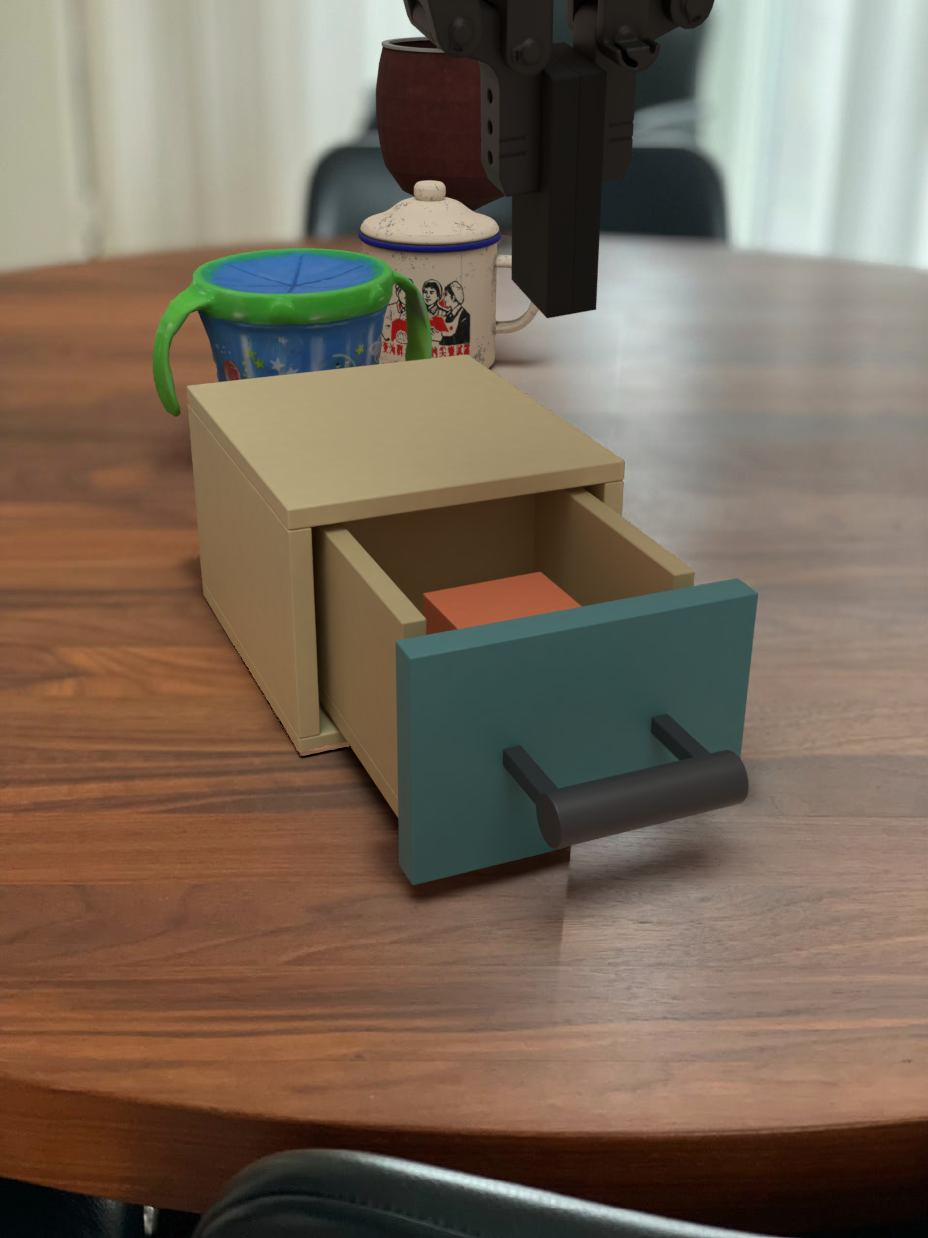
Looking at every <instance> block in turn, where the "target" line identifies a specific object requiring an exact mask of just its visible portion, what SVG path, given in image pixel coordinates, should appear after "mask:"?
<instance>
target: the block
mask: <svg viewBox="0 0 928 1238" xmlns="http://www.w3.org/2000/svg"><path fill="white" fill-rule="evenodd" d="M577 607H582V606H581V605H580V604H578V603H577V602H576V601H575V600H574V599H573V598H571V597H570V596H569V595H568V594H567V593H565V592H564V591H563V590H562V589H561V588H559V587H558V586H557V585H556V584H555V583H553V582H552V581H551V580H550V579H549V578H547V577H546V576H545V575H544V574H543V573H542V572H536V573H530V574H525V575H519V576H514V577H509V578H503V579H498V580H492V581H487V582H482V583H476V584H471V585H465V586H460V587H455V588H449V589H444V590H438V591H433V592H428V593H423V616H424V617H425V618H426V635H429V634H435V633H440V632H445V631H451V630H456V629H462V628H467V627H473V626H478V625H484V624H489V623H495V622H500V621H506V620H511V619H517V618H522V617H527V616H533V615H538V614H544V613H549V612H555V611H560V610H566V609H571V608H577Z"/></svg>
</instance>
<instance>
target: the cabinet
mask: <svg viewBox="0 0 928 1238" xmlns="http://www.w3.org/2000/svg"><path fill="white" fill-rule="evenodd" d="M186 399H187V403H188V404H187V413H188V424H189V425H188V426H189V427H188V428H189V440H190V447H191V448H190V449H191V452H190V453H191V461H192V462H191V463H192V474H193V487H194V496H195V497H194V499H195V500H194V501H195V511H196V512H195V513H196V524H197V538H198V550H199V563H200V572H201V574H200V575H201V580H202V581H201V583H202V585H201V586H202V596H203V597H204V598H205V600H206V602H207V604H208V605H209V607H210V608H211V610H212V612H213V613H214V615H215V617H216V618H217V621H218V622H219V623H220V625H221V627H222V628H223V630H224V632H225V633H226V635H227V637H228V638H229V640H230V642H231V643H232V645H233V647H234V646H235V647H234V648H235V650H236V649H237V650H236V652H237V651H238V652H237V654H238V653H239V654H240V655H239V654H238V655H239V657H240V656H241V657H242V659H243V660H242V659H241V660H242V661H244V662H245V664H246V665H245V664H244V665H245V667H246V666H247V667H248V668H249V670H248V672H249V671H250V672H251V673H252V675H253V677H254V678H255V679H256V682H257V683H258V685H259V686H260V688H261V690H262V691H263V693H264V694H265V696H266V699H267V700H268V701H269V703H270V704H271V706H272V708H273V709H274V710H275V712H276V714H277V716H278V717H279V719H280V720H281V722H282V724H283V725H284V727H285V728H286V730H287V732H288V734H289V736H290V737H291V739H292V741H293V742H294V744H295V745H296V747H297V749H298V750H299V752H303V751H309V750H310V749H314V748H321V747H323V746H325V745H333V744H337V743H343V742H347V740H346V739H345V737H344V736H343V734H342V733H341V731H340V730H339V728H338V727H337V725H336V724H335V722H334V721H333V719H332V718H331V716H330V715H329V713H328V712H327V710H326V709H325V707H324V706H323V704H322V703H321V701H320V700H319V693H318V670H317V647H316V624H315V601H314V578H313V555H312V532H311V528H310V527H315V526H321V525H328V524H335V523H341V522H348V521H355V520H361V519H368V518H375V517H381V516H388V515H395V514H401V513H408V512H415V511H421V510H428V509H434V508H441V507H448V506H454V505H461V504H468V503H474V502H481V501H488V500H494V499H501V498H508V497H514V496H521V495H528V494H534V493H541V492H548V491H554V490H561V489H568V488H574V487H582V488H584V489H585V490H587V491H588V492H589V493H591V494H592V495H593V496H595V497H596V498H597V499H599V500H600V501H601V502H603V503H604V504H605V505H607V506H608V507H609V508H611V509H612V510H613V511H615V512H616V513H618V514H619V515H620V516H622V517H623V509H624V508H623V507H624V506H623V505H624V491H625V490H624V487H625V481H624V479H625V466H626V461H625V459H623V458H622V457H621V456H619V455H617V454H616V453H614V451H612V450H610V449H609V448H607V447H606V446H604V445H602V444H601V443H600V442H598V441H597V440H595V439H594V438H592V437H591V436H589V435H588V434H586V433H585V432H583V431H582V430H580V429H578V427H576V426H574V425H573V424H571V423H570V422H569V421H567V420H565V419H564V418H562V417H561V416H560V415H558V414H557V413H555V412H554V411H552V410H551V409H549V408H548V407H546V406H545V405H543V404H542V403H540V402H539V401H538V400H535V398H533V397H531V396H530V395H528V394H527V393H525V392H524V391H522V390H521V389H519V388H518V387H517V386H515V385H513V384H512V383H510V382H509V381H507V380H506V379H505V378H503V377H502V376H500V375H499V374H498V373H495V372H494V371H493V370H492V369H490V368H487V367H485V366H484V365H482V364H481V363H479V362H478V361H476V360H475V359H473V358H472V357H470V356H469V355H459V356H450V357H441V358H432V359H423V360H414V361H405V362H396V363H387V364H378V365H369V366H360V367H351V368H342V369H333V370H324V371H315V372H306V373H297V374H288V375H279V376H270V377H261V378H252V379H243V380H234V381H225V382H219V381H215V382H208V383H199V384H189V385H187V386H186ZM241 657H240V658H241ZM244 662H243V663H244ZM247 667H246V668H247ZM250 672H249V673H250ZM252 675H251V676H252ZM253 677H252V678H253ZM256 682H255V683H256ZM258 685H257V686H258ZM261 690H260V691H261ZM266 699H265V700H266ZM267 700H266V701H267Z"/></svg>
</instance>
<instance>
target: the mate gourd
mask: <svg viewBox="0 0 928 1238" xmlns="http://www.w3.org/2000/svg"><path fill="white" fill-rule="evenodd" d="M377 68H378V69H377V77H376V85H375V122H376V128H377V129H376V130H377V134H378V141H379V148H380V151H381V155H382V159H383V163H384V166H385V168H386V169H387V171H388V172H389V174H390V175H391V176H392V178H393V179H394V181H395V182H396V184H397V185H398V186H399V188H400V190H402V191H403V193H407V194H408V195H411V196H412V197H415V195H414V186H415V184H416V183H417V182H419V181H428V180H431V181H440V182H442V183H443V184H444V185H445V187H446V194H445V196H444V197H447V198H451V199H454V200H457V201H459V202H461V203H462V204H463V205H465V206H466V207H467V208H469V209H470V210H472V211H474V212H475V211H477V210H479V209H481V208H482V207H485V206H486V205H488V204H492V203H493V202H495V201H497V200H499V199H501V198H504V197H506V196H505V195H504V194H503V193H502V192H501V191H500V190H499V189H498V188H497V187H496V186H495V185H494V184H493V183H492V182H491V181H490V180H489V179H488V177H487V174H486V172H485V170H484V167H483V165H482V162H481V142H482V139H481V126H482V125H481V73H480V65H479V63H478V60H474V59H470V58H466V57H464V58H458V59H457V58H454V57H450V56H448V55H447V54H446V53H445V52H444V51H442V50H441V49H440V48H438V47H437V46H436V45H435V44H434V43H433V42H431V41H430V40H429V39H428V38H427V37H426V36H411V37H410V36H409V37H397V38H390V39H385V40H383V41H381V52H380V57H379V61H378V67H377ZM497 255H512V235H507V234H502V233H501V238H500V240H499V241H498V242H497Z"/></svg>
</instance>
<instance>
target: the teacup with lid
mask: <svg viewBox="0 0 928 1238" xmlns="http://www.w3.org/2000/svg"><path fill="white" fill-rule="evenodd" d="M445 194H446V187H445V185H444V184H443V183H442V182H440V181H431V180H428V181H419V182H417V183H416V184H415V186H414V195H415V196H412V197H408V198H405V199H402V200H400V201H398V202H397V203H396V204H394V205H393V206H392V207H390V208H388V209H387V210H385V211H383V212H379V213H375V214H373V215H370V216H369V217H367V218H365V219H364V220H363V221H362V223H361V225H360V230H359V231H358V238H359V240H360V241H361V243H362V254H366V255H370V256H373V257H376V258H378V259H381V260H383V261H384V262H386V263H387V264H388V265H389V266H390V267H391V269H392V270H393V271H395V272H397V273H400V274H401V275H403V276H405V277H407V278H408V279H409V280H411V281H412V282H413V283H414V284H415V285H416V287H417V288H418V290H419V291H420V293H421V295H422V296H423V299H424V302H425V305H426V308H427V311H428V315H429V321H430V326H431V334H432V356H431V359H432V358H441V357H450V356H459V355H469V356H470V357H472V358H473V359H475V360H476V361H478V362H479V363H481V364H482V365H484V366H485V367H487V368H488V369H490V368H491V366H493V364H494V362H495V359H496V335H505V334H513V333H517V332H518V331H521V330H523V329H524V328H526V327H527V326H528V325H530V324H531V322H532V321H533V320H534V319H535V318H536V316H537V315H538V313H539V311H540V310H539V309H538V308H537V307H536V306H535V305H534V304H533V303H532V301H531V300H530V304H529V306H528V307H527V310H526V311H525V312H524V313H523V314H522V315H520V316H519V317H517V318H515V319H511V320H497V280H498V279H497V277H498V276H497V275H498V274H497V271H498V268H499V269H501V268H502V269H503V268H506V269H512V255H497V242H498V241H499V240H500V238H501V234H502V232H501V231H500V227H499V225H498V223H497V222H496V220H495V219H493V218H492V217H490V216H488V215H486V214H483V213H479V212H475V211H472V210H470V209H469V208H467V207H466V206H465V205H463V204H462V203H461V202H459V201H457V200H454V199H451V198H447V197H444V196H445ZM381 340H382V346H381V353H380V358H379V364H387V363H396V362H405V352H406V346H407V342H408V340H407V324H406V304H405V292H404V291H403V290H402V289H401V288H400V287H399V286H398V285H397V284H396V283H395V284H394V285H393V293H392V297H391V300H390V302H389V304H388V306H387V310H386V313H385V317H384V323H383V331H382V338H381Z"/></svg>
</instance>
